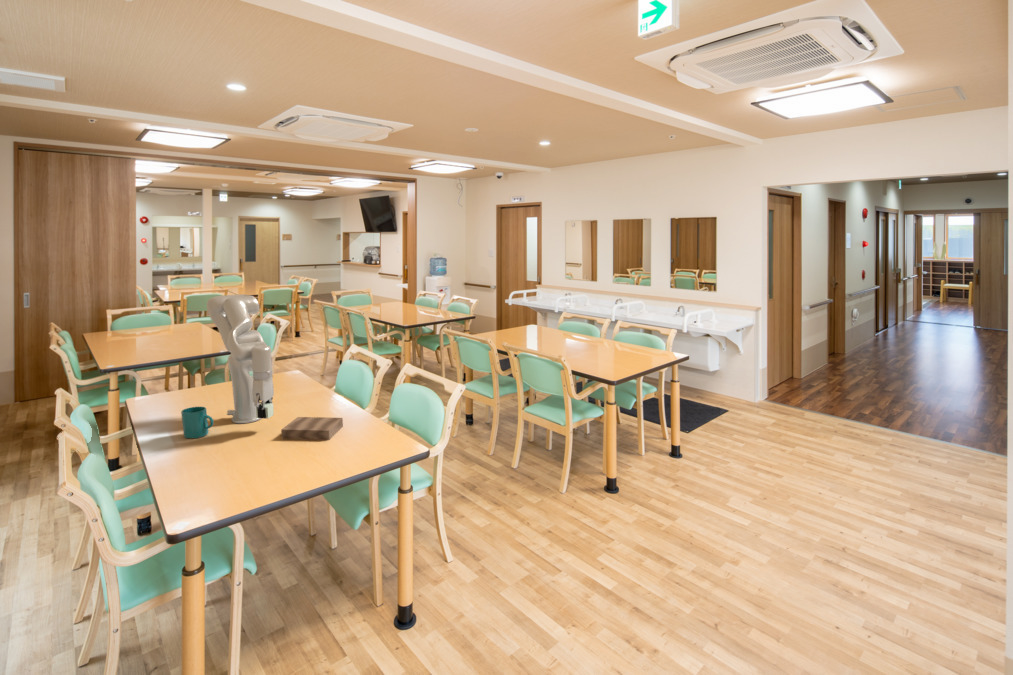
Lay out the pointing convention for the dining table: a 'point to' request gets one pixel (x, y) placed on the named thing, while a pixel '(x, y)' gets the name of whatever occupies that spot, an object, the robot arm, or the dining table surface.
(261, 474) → the dining table surface
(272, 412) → the sage cube
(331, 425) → the walnut plinth
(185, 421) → the cup
